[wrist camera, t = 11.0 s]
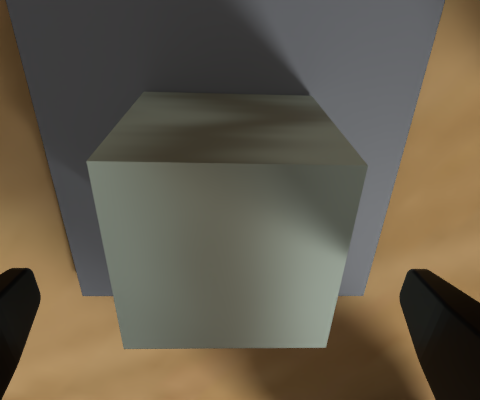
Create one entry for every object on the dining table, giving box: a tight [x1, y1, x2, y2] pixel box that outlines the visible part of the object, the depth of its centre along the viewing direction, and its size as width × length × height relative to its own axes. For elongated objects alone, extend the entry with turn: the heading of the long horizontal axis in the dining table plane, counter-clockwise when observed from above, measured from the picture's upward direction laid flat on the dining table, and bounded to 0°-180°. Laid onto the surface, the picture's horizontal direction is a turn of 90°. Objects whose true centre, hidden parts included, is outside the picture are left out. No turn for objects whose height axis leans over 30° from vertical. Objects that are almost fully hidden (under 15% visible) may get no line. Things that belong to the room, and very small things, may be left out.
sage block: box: [86, 92, 368, 349], centre depth 12 cm, size 6×6×6 cm
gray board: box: [6, 0, 445, 296], centre depth 15 cm, size 14×14×1 cm
